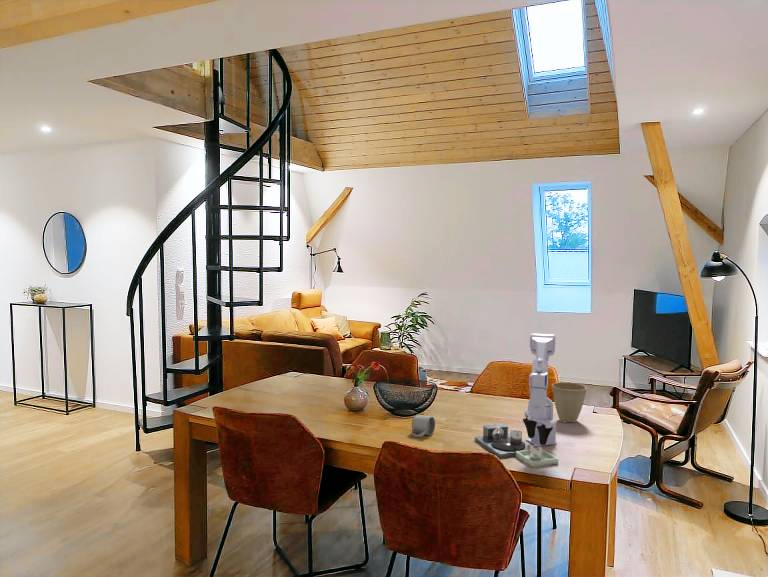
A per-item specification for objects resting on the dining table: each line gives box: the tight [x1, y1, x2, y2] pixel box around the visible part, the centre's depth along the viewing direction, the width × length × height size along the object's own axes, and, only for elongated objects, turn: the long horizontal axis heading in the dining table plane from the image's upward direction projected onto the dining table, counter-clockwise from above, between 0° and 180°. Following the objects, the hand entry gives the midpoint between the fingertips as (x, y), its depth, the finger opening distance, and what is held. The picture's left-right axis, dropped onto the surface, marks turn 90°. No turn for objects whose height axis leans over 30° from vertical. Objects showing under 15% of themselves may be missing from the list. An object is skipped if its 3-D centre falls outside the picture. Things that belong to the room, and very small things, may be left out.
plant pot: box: [551, 381, 587, 423], centre depth 259 cm, size 15×15×16 cm
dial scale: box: [474, 423, 531, 459], centre depth 226 cm, size 16×20×6 cm
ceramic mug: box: [411, 414, 436, 439], centre depth 240 cm, size 11×8×8 cm
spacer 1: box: [510, 428, 523, 444], centre depth 224 cm, size 4×4×5 cm
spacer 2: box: [530, 444, 543, 461], centre depth 212 cm, size 4×4×5 cm
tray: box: [515, 448, 559, 468], centre depth 212 cm, size 11×11×2 cm
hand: (537, 441), depth 212 cm, fingers open, 7 cm apart
